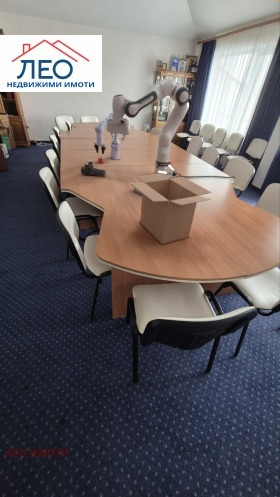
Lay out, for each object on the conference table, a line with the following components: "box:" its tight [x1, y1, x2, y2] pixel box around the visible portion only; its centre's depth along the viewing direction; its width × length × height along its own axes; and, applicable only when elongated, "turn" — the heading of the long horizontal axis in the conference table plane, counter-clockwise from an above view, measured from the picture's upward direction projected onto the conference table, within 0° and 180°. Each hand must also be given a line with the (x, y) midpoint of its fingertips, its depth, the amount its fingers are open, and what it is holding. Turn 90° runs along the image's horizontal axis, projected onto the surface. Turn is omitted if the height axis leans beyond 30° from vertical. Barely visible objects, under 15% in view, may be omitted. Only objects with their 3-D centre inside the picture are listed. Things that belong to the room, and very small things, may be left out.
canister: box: [97, 157, 104, 164], centre depth 232 cm, size 5×5×5 cm
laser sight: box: [80, 161, 107, 177], centre depth 198 cm, size 10×22×10 cm, turn 78°
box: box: [128, 173, 212, 245], centre depth 124 cm, size 44×36×27 cm
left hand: (100, 153), depth 228 cm, fingers open, 7 cm apart
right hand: (118, 139), depth 179 cm, fingers open, 8 cm apart
